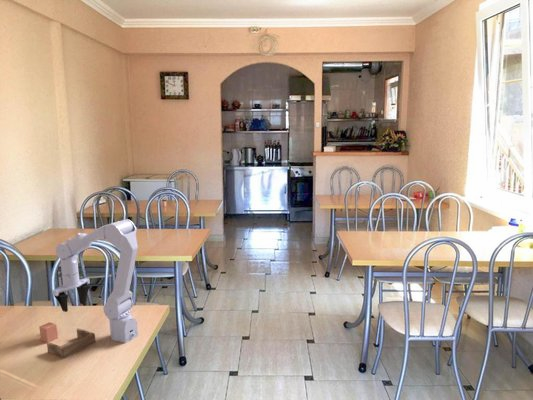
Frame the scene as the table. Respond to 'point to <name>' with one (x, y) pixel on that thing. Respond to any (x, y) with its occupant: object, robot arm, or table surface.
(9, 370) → the table surface
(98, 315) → the table surface
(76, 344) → the box
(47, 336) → the block
